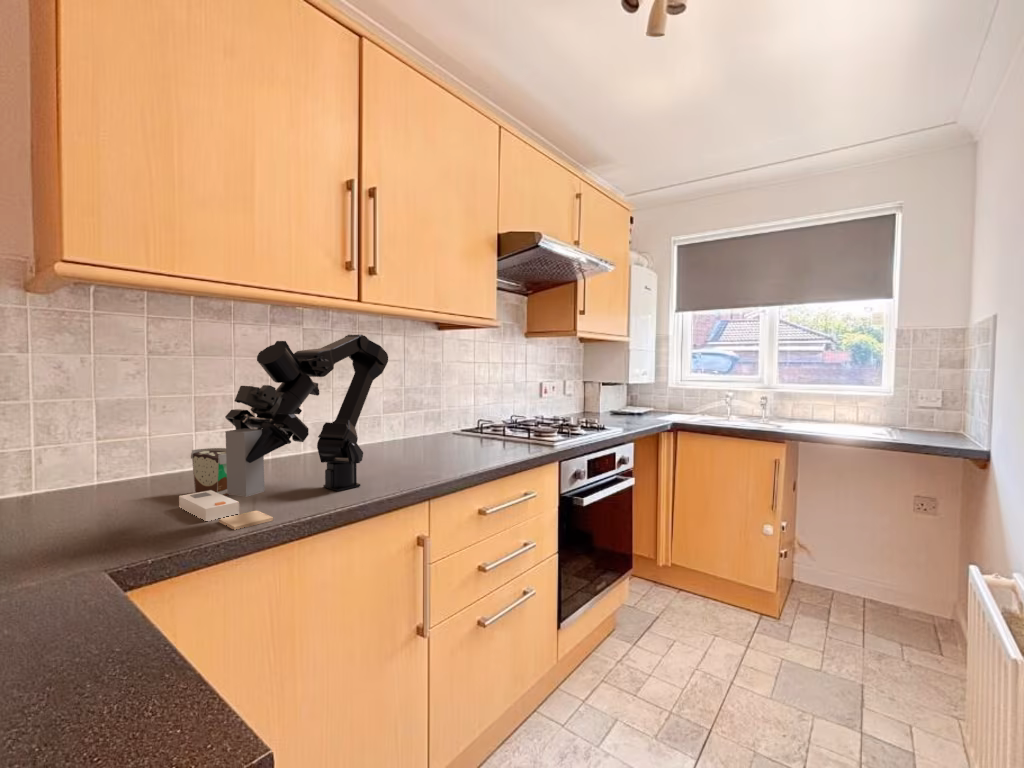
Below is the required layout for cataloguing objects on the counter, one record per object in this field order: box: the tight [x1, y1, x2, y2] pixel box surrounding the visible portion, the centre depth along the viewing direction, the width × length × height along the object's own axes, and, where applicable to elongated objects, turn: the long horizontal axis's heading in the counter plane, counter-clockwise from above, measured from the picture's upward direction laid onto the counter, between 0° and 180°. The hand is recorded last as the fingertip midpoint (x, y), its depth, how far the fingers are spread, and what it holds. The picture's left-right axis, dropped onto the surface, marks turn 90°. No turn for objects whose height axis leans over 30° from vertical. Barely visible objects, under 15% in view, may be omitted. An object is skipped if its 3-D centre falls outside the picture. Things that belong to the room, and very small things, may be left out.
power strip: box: [178, 490, 240, 522], centre depth 101 cm, size 6×19×3 cm, turn 52°
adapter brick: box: [225, 428, 265, 498], centre depth 93 cm, size 4×5×12 cm
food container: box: [190, 447, 230, 497], centre depth 113 cm, size 12×6×10 cm, turn 59°
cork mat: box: [218, 510, 274, 531], centre depth 93 cm, size 7×7×1 cm
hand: (238, 460), depth 92 cm, fingers closed on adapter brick, 5 cm apart
